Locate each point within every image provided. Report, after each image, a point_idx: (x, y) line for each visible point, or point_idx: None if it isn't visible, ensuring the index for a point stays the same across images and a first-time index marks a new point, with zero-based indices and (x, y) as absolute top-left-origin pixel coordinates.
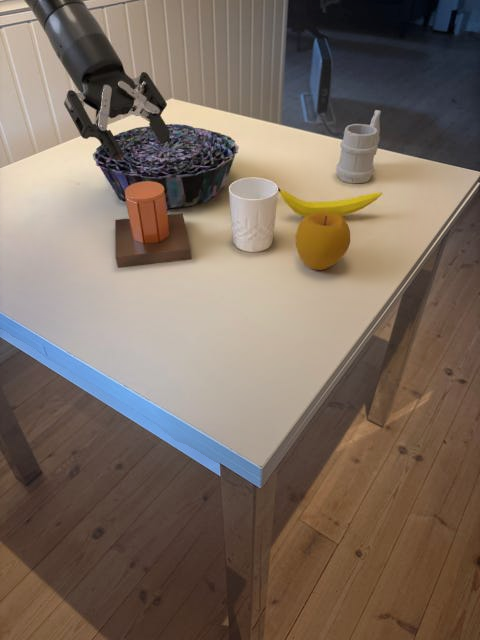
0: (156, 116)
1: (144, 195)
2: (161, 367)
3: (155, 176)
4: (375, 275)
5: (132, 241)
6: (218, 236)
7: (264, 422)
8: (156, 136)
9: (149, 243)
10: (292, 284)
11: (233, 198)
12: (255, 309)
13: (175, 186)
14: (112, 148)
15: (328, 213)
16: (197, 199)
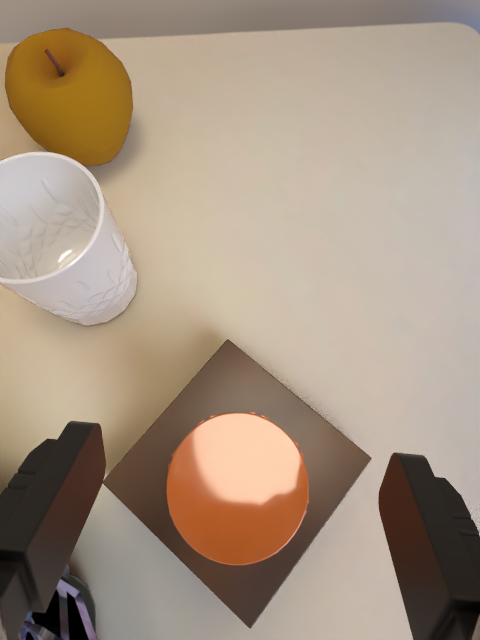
0: (13, 539)
1: (268, 449)
2: (474, 185)
3: (61, 626)
4: None
5: None
6: (117, 359)
7: (433, 43)
8: (86, 518)
9: None
10: (177, 151)
11: (101, 237)
12: (274, 159)
13: None
14: (448, 500)
15: (21, 65)
16: None
